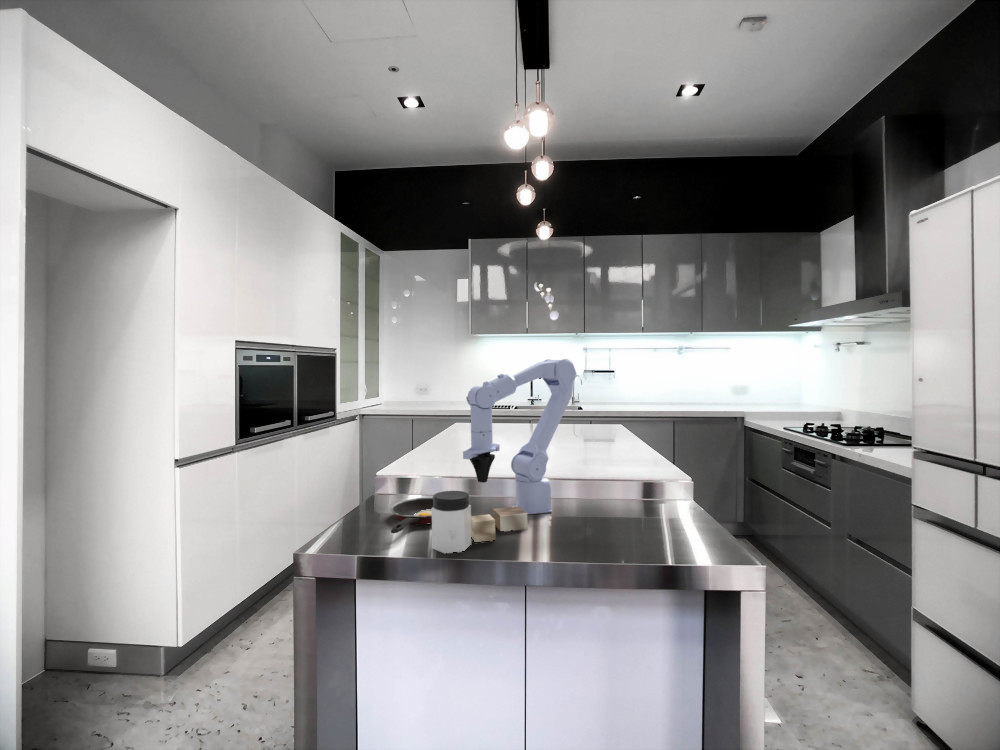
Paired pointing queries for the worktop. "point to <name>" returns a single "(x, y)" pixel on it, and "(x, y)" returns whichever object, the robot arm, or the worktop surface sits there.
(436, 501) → the jar
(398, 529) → the frying pan
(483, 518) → the maple block
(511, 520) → the walnut block
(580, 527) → the worktop surface
